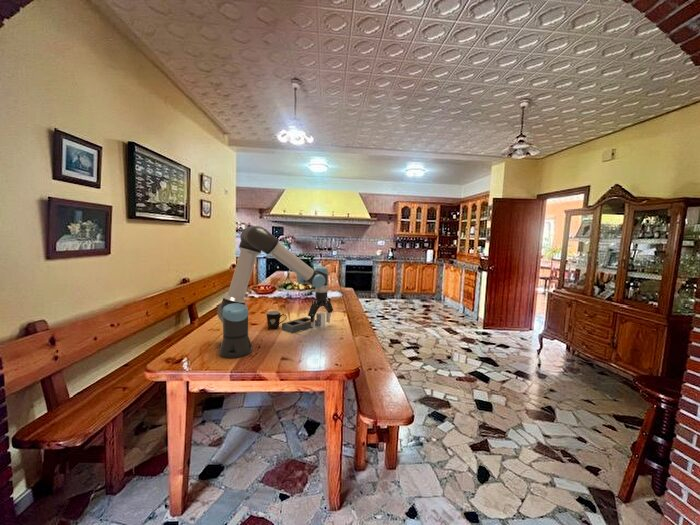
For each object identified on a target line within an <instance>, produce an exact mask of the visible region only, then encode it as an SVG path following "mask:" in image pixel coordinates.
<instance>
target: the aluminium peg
mask: <svg viewBox="0 0 700 525" xmlns="http://www.w3.org/2000/svg"><path fill="white" fill-rule="evenodd" d="M315 320H316V326H315V330H318V331H323V330H325V329H326V313H325V312H318V313H317V312H316V314H315Z"/></svg>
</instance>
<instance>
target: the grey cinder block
mask: <svg viewBox="0 0 700 525" xmlns="http://www.w3.org/2000/svg"><path fill="white" fill-rule="evenodd" d="M315 327H316V319H315ZM311 328H313V327H311V317H309V316H308V317H307V316H303V317H299V318H296V319H294V320H290V321H286V322H285V321H284V322H282V323H281V330H282V331H285V332H287V333H289V334H296V333H299V332H301V331H305V330H308V329H311Z"/></svg>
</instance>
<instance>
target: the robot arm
mask: <svg viewBox="0 0 700 525" xmlns="http://www.w3.org/2000/svg"><path fill="white" fill-rule="evenodd" d="M239 238H240V243H239V245H238V250H239V251H240V252H239V256H238V258H237V262H236V265H235V269H234V272H233V275H232V278H231V282H230V285H229V289H228V290H227V291H228V292H227V294H226V295H224V296H223V297H222V300H221V303H220V304H219V306H218V308H217V313H216V314H217V317H218V319H219V320H220V322H221V323H222V339H221V340H222V341H221V344H220V346H219V350H218V354H219V356H220V357H222V358H225V359H226V358H227V359H236V358H241V357H242V358H243V357H245V356H247V355H250V354H251V353H252V351H253V347H252V346H253V345H252V343H251V340H250V337H249V308H248V306H247V305H246V299H245V295H246V293H247V289H248V286H249V283H250V279H251V276H252V272H253V269H254V266H255V264H256V259H257V257H258V256H259V255H261V253H264V254H266V255H270V256H271V257H273V258H274V259H275V260H277V261H278V262H279V263H281V264H282V265H283V266H286V267H287V269H289V270H291V271H292V272H293V273H294V274H296V281H297V283H298V284H300V285H301V284H302V285H304V284H306V285H309V286H312V287H314V288H315V295H314V296H315V300H314V299H313V300H311V304H310V308H309V310H308V314H307V316H308V317H309V318H311V327H312V328H316V326H315V320H316V314H317V312H318V310H319V309H320V308H321V307H324V309H325V310H326V311H327V312H326V314H325V323H331V315H332V313H333V311H334V308H333V305H332V302H331V298H330V297H329V296H328V283H329V281H328V280H329V268H328V267H325V266H317V267H316V268H315V269H313V268H312V267H311V266H309V264H307V263H306V262H304V261H303V260H302V259H301V258H299V257H298V256H296V255H295V254H294V253H293V252H291V251H290V250H289V249H288V248H286V247H285V246H284V245H282V243H280V240H279V239H278V238H276V236H274V235H273V234H272V233H271V232H270V231H268V229H266V228H265V227H263V226H259V225H255V226H254V225H251V226H246V227H245V228H244V229H243V230H242V231H241V234H240V237H239Z"/></svg>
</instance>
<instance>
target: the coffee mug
mask: <svg viewBox="0 0 700 525" xmlns="http://www.w3.org/2000/svg"><path fill="white" fill-rule="evenodd" d="M283 316H285V319H283V320H282V321H281V317H283ZM286 319H287V315H286V314H284V313H283V314H282V313H281V311H280V310H269V311H268V310H267V312H266V321H267V329H268V330H271V331H272V330H273V331H274V330H278V329H279V327H280V324H282V323H284V322H285V321H286Z"/></svg>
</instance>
